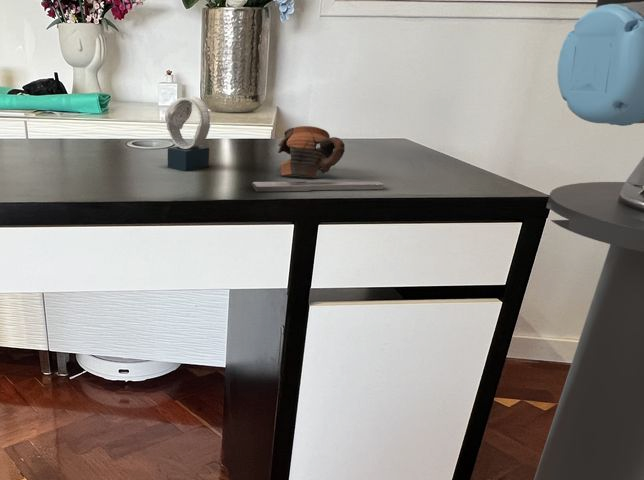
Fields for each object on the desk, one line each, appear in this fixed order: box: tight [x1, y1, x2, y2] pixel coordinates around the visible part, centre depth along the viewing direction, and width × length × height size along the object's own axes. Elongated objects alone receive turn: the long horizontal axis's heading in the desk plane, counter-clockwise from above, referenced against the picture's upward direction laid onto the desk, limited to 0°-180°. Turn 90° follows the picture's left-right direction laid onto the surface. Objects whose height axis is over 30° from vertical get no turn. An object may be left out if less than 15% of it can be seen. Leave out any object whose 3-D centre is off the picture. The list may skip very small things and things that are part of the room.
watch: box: [164, 96, 211, 172], centre depth 105 cm, size 6×8×11 cm
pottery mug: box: [277, 125, 346, 179], centre depth 102 cm, size 12×10×8 cm
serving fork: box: [252, 181, 385, 193], centre depth 93 cm, size 19×3×1 cm, turn 94°
